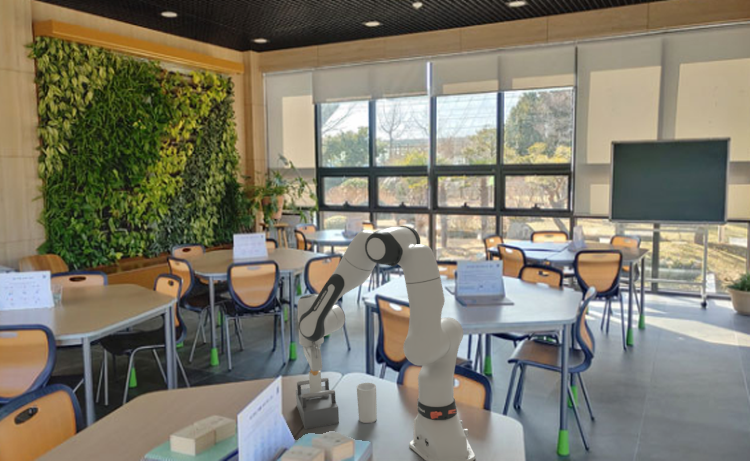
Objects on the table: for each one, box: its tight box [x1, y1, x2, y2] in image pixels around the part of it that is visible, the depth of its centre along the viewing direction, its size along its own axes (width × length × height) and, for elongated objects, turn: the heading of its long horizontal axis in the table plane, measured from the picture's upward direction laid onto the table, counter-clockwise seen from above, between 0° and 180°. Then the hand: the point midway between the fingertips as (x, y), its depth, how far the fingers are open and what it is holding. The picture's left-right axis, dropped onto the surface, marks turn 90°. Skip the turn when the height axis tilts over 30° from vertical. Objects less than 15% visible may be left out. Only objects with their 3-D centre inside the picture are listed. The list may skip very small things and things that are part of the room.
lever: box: [308, 369, 322, 398], centre depth 203 cm, size 3×4×11 cm
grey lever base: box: [295, 377, 340, 430], centre depth 203 cm, size 20×12×11 cm, turn 16°
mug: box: [356, 382, 378, 424], centre depth 199 cm, size 10×7×12 cm, turn 169°
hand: (313, 374), depth 206 cm, fingers closed
